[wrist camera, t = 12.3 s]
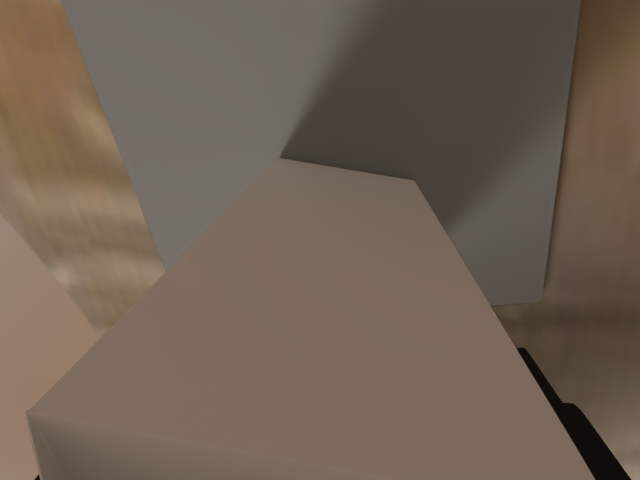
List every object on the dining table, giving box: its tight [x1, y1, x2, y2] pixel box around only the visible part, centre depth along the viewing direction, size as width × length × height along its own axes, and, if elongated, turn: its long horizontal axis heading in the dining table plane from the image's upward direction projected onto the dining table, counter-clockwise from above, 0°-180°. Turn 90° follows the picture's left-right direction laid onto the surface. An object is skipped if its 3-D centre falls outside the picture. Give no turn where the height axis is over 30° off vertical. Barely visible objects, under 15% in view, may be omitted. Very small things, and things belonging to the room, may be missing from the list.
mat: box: [61, 0, 581, 306], centre depth 16 cm, size 28×22×1 cm
